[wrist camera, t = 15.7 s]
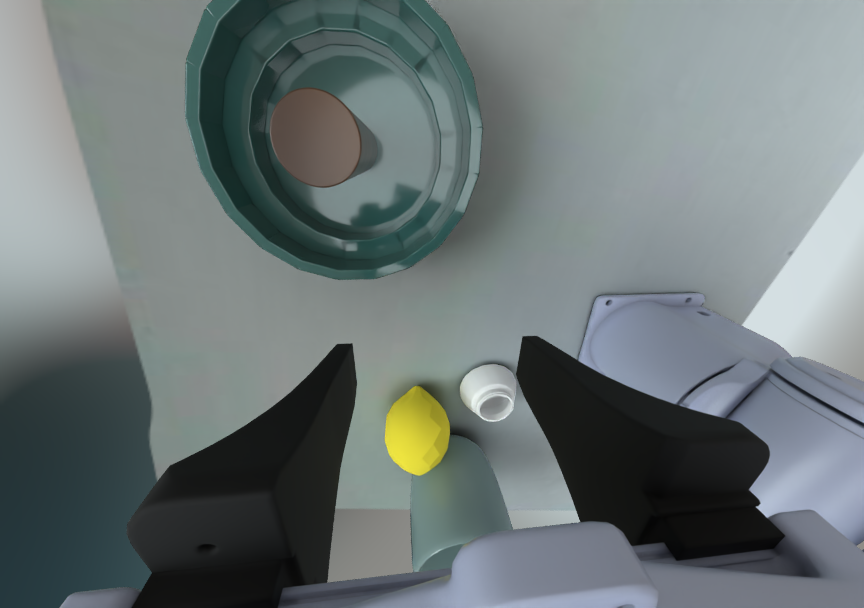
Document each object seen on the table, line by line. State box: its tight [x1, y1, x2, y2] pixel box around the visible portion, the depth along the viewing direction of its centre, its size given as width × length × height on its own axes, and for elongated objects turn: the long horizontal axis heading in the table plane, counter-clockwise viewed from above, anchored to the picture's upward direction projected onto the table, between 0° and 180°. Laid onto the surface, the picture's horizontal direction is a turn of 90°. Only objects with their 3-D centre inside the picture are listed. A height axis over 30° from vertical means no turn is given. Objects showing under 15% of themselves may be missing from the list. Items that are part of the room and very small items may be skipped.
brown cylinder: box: [270, 87, 377, 188], centre depth 14 cm, size 3×3×9 cm
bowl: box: [185, 0, 483, 280], centre depth 16 cm, size 13×13×4 cm
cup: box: [410, 435, 513, 572], centre depth 26 cm, size 8×8×10 cm
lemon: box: [385, 386, 450, 476], centre depth 25 cm, size 7×5×5 cm
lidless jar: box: [460, 364, 517, 422], centre depth 26 cm, size 5×3×5 cm
